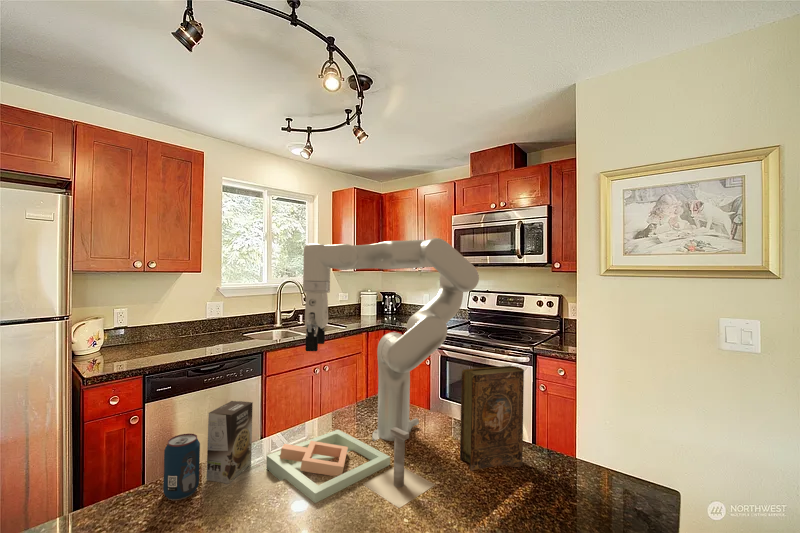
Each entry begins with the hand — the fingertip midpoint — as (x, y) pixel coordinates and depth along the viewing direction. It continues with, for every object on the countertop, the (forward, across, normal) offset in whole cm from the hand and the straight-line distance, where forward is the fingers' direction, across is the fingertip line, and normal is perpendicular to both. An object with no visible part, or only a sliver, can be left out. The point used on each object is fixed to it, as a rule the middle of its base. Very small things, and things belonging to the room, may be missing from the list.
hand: (315, 347), depth 105 cm
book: (+28, -9, -49) cm, 57 cm away
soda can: (+28, -22, +25) cm, 44 cm away
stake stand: (+28, -20, -24) cm, 42 cm away
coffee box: (+28, -13, +18) cm, 36 cm away
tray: (+28, -12, -6) cm, 31 cm away
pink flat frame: (+26, -12, -2) cm, 29 cm away
